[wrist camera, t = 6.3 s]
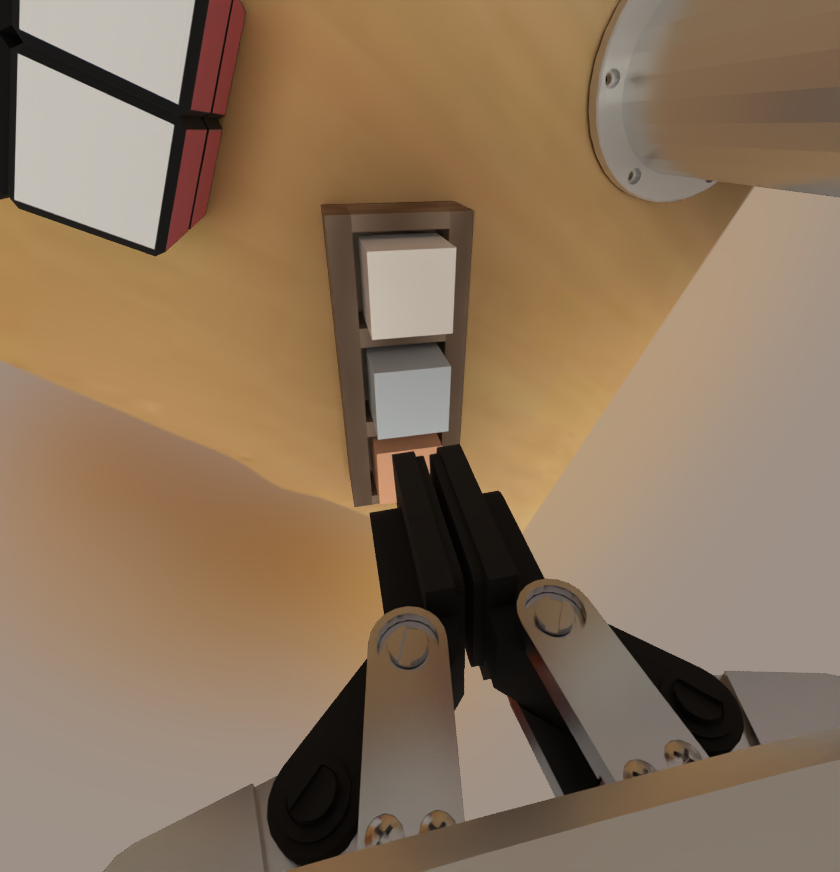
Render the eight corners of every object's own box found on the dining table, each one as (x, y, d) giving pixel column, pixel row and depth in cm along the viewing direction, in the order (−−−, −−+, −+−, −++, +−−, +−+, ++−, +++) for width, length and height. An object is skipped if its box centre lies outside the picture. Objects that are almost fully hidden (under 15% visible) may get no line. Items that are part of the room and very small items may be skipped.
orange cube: (428, 415, 35) (442, 445, 31) (427, 463, 37) (440, 495, 34) (369, 422, 34) (376, 454, 31) (372, 471, 36) (379, 504, 33)
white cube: (436, 232, 26) (456, 247, 23) (435, 310, 29) (452, 333, 26) (358, 235, 25) (366, 251, 22) (363, 315, 28) (372, 340, 25)
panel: (453, 201, 28) (474, 210, 25) (443, 461, 39) (456, 492, 36) (321, 204, 27) (324, 215, 23) (349, 474, 38) (354, 507, 35)
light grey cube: (434, 340, 30) (451, 366, 27) (433, 400, 32) (448, 431, 29) (365, 346, 29) (374, 373, 26) (369, 407, 32) (377, 439, 28)
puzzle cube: (248, 5, 22) (219, -68, 14) (205, 219, 26) (163, 262, 18) (-22, -152, 18) (-290, -387, 10) (-19, 132, 22) (-203, 135, 14)
